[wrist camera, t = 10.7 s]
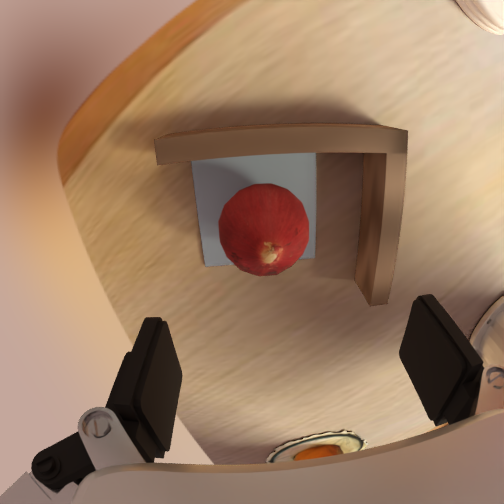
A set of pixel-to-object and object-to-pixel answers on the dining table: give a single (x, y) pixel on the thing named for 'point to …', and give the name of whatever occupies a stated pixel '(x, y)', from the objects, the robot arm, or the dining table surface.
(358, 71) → the dining table surface
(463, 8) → the coaster
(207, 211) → the pad
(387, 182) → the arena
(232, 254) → the onion
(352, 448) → the decorative vase
